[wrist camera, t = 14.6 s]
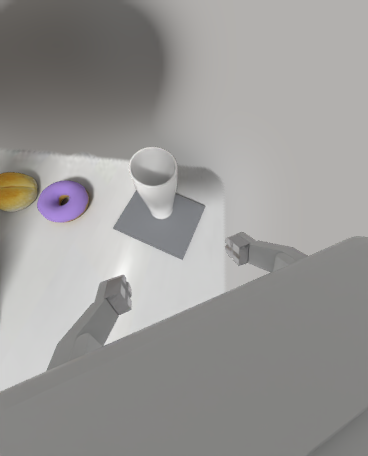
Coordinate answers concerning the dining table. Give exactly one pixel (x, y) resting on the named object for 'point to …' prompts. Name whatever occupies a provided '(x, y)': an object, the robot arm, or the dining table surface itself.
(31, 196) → the bread roll
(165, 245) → the rubber mat
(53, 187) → the donut
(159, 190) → the drinking glass
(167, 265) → the dining table surface
